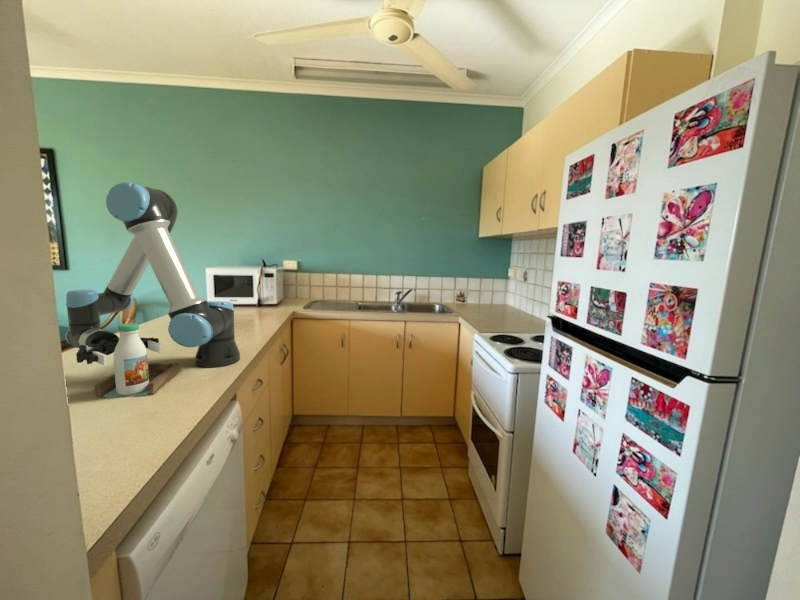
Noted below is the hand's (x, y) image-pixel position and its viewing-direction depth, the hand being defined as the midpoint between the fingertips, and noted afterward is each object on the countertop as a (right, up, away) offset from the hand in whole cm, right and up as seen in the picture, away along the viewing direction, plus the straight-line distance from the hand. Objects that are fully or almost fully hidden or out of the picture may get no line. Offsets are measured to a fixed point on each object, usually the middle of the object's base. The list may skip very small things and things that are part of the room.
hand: (134, 354), depth 96 cm
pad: (-3, -12, +3) cm, 12 cm away
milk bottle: (-3, -12, +3) cm, 12 cm away
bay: (-4, -11, +8) cm, 14 cm away
